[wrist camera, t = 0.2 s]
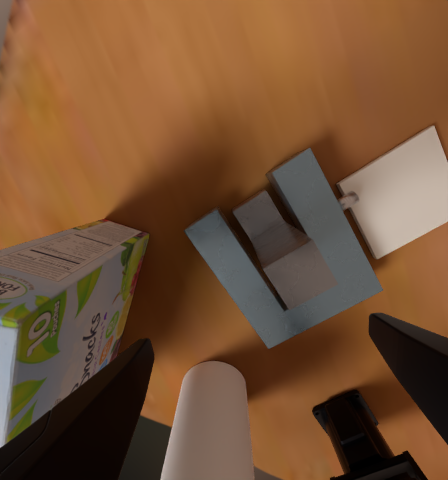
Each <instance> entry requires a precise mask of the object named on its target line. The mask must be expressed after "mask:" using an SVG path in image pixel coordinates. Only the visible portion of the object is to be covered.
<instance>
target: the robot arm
mask: <svg viewBox="0 0 448 480" xmlns="http://www.w3.org/2000/svg"><path fill="white" fill-rule="evenodd" d="M369 335H370V337H371V339H372V341H373V342H374V344H375V345H376V347H377V349H378V350H379V352H380V353H381V355H382V356H383V358H384V360H385V361H386V363H387V364H388V366H389V367H390V369H391V371H392V372H393V374H394V375H395V377H396V378H397V379H398V381H399V382H400V383H401V385H402V386H403V387H404V389H405V390H406V391H407V392H408V394H409V395H410V396H411V398H412V399H413V400H414V402H415V403H416V404H417V405H418V407H419V408H420V409H421V411H422V412H423V413H424V415H425V416H426V417H427V419H428V420H429V421H430V422H431V424H432V425H433V426H434V428H435V429H436V430H437V432H438V433H439V434H440V436H441V437H442V438H443V439H444V441H445V442H446V443H447V445H448V338H446V337H444V336H441V335H438V334H436V333H433V332H431V331H428V330H425V329H423V328H420V327H418V326H415V325H412V324H410V323H407V322H405V321H402V320H399V319H397V318H394V317H392V316H389V315H386V314H384V313H373V314H370V316H369ZM153 363H154V351H153V348H152V344H151V341H150V339H149V338H145V339H139V340H138V341H136V342H135V343H134V344H133V345H131V346H130V347H129V348H127V349H126V350H125V351H124V352H122V353H121V354H120V355H119V356H117V357H116V358H115V359H114V360H112V361H111V362H110V363H108V364H107V365H106V366H105V367H103V368H102V369H101V370H100V371H98V372H97V373H96V374H95V375H93V376H92V377H91V378H90V379H88V380H87V381H86V382H84V383H83V384H82V385H81V386H79V387H78V388H77V389H76V390H74V391H73V392H72V393H71V394H69V395H68V396H67V397H65V398H64V399H63V400H62V401H60V402H59V403H58V404H57V405H55V406H54V407H53V408H52V410H49V411H48V412H46V413H45V414H44V415H43V416H41V417H40V418H39V419H38V420H36V421H35V422H34V423H32V424H31V425H30V426H29V427H27V428H26V429H25V430H23V431H22V432H21V433H19V434H18V435H17V436H16V437H14V438H13V439H11V440H10V441H9V442H7V443H6V444H5V445H3V446H2V447H1V448H0V480H118V478H119V475H120V473H121V470H122V467H123V464H124V461H125V458H126V455H127V451H128V449H129V446H130V443H131V440H132V437H133V434H134V431H135V427H136V425H137V422H138V419H139V416H140V413H141V410H142V407H143V404H144V401H145V397H146V393H147V389H148V384H149V380H150V376H151V372H152V367H153ZM312 412H313V415H314V416H315V418H316V419H317V421H318V422H319V423H320V425H321V426H322V427H323V429H324V430H325V432H326V433H327V434H328V436H329V437H330V439H331V442H332V444H333V447H334V449H335V452H336V454H337V457H338V459H339V462H340V464H341V467H342V469H343V472H344V475H341V476H338V477H331V478H330V480H428V479H427V478H426V476H425V475H424V473H423V472H422V471H421V469H420V468H419V466H418V465H417V463H416V462H415V461H414V459H413V458H412V456H411V455H410V454H409V452H408V451H404V452H402V453H403V454H400V455H397V456H394V454H393V452H392V451H391V449H390V448H389V446H388V444H387V443H386V441H385V439H384V438H383V436H382V434H381V433H380V431H379V430H378V428H377V425H378V422H377V420H376V418H375V417H374V415H373V414H372V412H371V410H370V409H369V407H368V406H367V404H366V402H365V401H364V399H363V398H362V396H361V395H360V393H359V391H357V390H354V391H352V392H349V393H347V394H345V395H343V396H340V397H338V398H336V399H334V400H331V401H329V402H327V403H325V404H322V405H320V406H318V407H316V408H314V409H313V410H312Z"/></svg>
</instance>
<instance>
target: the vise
mask: <svg viewBox="0 0 448 480" xmlns="http://www.w3.org/2000/svg"><path fill="white" fill-rule="evenodd" d="M266 176H267V178H268V179H269V181H270V183H271V185H272V186H273V188H274V190H275V192H276V193H277V195H278V197H279V198H280V200H281V202H282V204H283V205H284V207H285V209H286V210H287V212H288V214H289V216H290V217H291V219H292V221H293V223H294V224H295V226H296V228H297V229H298V230H299V231H301V232H302V233H304V234H305V235H307V236H308V237H310V238H311V239H313V241H314V242H315V244H316V246H317V248H318V249H319V251H320V253H321V255H322V256H323V258H324V260H325V262H326V263H327V265H328V267H329V269H330V270H331V272H332V274H333V276H334V277H335V279H336V281H337V283H338V285H336V286H334V287H332V288H330V289H329V290H327V291H325V292H323V293H321V294H319V295H317V296H316V297H314V298H312V299H310V300H308V301H306V302H304V303H303V304H301V305H299V306H297V307H295V308H293V309H291V310H289V309H288V307H287V306H286V304H285V303H284V301H283V299H282V298H281V296H280V295H278V296H277V295H276V293H275V292H274V290H273V289H272V287H271V286H270V284H269V283H268V281H267V280H266V278H265V277H264V275H263V274H262V272H261V271H260V269H259V268H258V266H257V264H256V263H255V261H254V260H253V258H252V257H251V255H250V254H249V252H248V251H247V249H246V248H245V246H244V245H243V243H242V242H241V240H240V239H239V237H238V236H237V234H236V233H235V231H234V229H233V228H232V226H231V225H230V223H229V222H228V220H227V219H226V217H225V216H224V214H223V213H222V211H221V210H220V208H219V207H218V206H217V207H215V208H214V209H212V210H211V211H209V212H208V213H206V214H205V215H203V216H202V217H200V218H199V219H197V220H196V221H194V222H193V223H191V224H190V225H189V226H188V227H187V228H186V229H185V230H184V232H185V233H186V235H187V236H188V237H189V239H190V240H191V242H192V243H193V244H194V246H195V247H196V249H197V250H198V251H199V253H200V254H201V256H202V257H203V258H204V260H205V261H206V263H207V264H208V265H209V267H210V268H211V270H212V271H213V272H214V274H215V275H216V276H217V278H218V279H219V281H220V282H221V283H222V285H223V286H224V288H225V289H226V290H227V292H228V293H229V295H230V296H231V297H232V299H233V300H234V302H235V303H236V304H237V306H238V307H239V308H240V310H241V311H242V313H243V314H244V315H245V317H246V318H247V320H248V321H249V322H250V324H251V325H252V327H253V328H254V329H255V331H256V332H257V334H258V335H259V336H260V338H261V339H262V341H263V342H264V343H265V345H266V346H267V347H268V349H270V348H272V347H274V346H276V345H278V344H280V343H281V342H283V341H285V340H287V339H289V338H291V337H293V336H295V335H297V334H299V333H301V332H303V331H305V330H307V329H309V328H311V327H313V326H315V325H317V324H319V323H320V322H322V321H324V320H326V319H328V318H330V317H332V316H334V315H336V314H338V313H340V312H342V311H344V310H346V309H348V308H350V307H352V306H354V305H356V304H358V303H359V302H361V301H363V300H365V299H367V298H369V297H371V296H373V295H375V294H377V293H379V292H381V291H383V289H382V287H381V285H380V283H379V281H378V279H377V277H376V275H375V273H374V271H373V269H372V267H371V265H370V263H369V261H368V260H367V258H366V256H365V254H364V252H363V250H362V248H361V246H360V244H359V242H358V240H357V238H356V236H355V234H354V232H353V230H352V228H351V226H350V224H349V223H348V221H347V219H346V217H345V215H344V213H343V211H344V210H346V209H348V208H349V207H351V206H353V205H354V204H356V203H358V202H359V197H358V195H357V194H356V193H355V192H354V191H350V192H349V193H347V194H345V195H344V196H342V197H340V198H339V199H336V197H335V195H334V193H333V191H332V189H331V187H330V186H329V184H328V182H327V180H326V178H325V176H324V174H323V172H322V170H321V168H320V166H319V164H318V162H317V160H316V158H315V156H314V154H313V152H312V151H311V149H310V148H308V149H306V150H303V151H301V152H299V153H297V154H295V155H294V156H292V157H291V158H289V159H288V160H286V161H285V162H283V163H282V164H280V165H279V166H277V167H276V168H274V169H273V170H271V171H270V172H268V173H267V174H266Z"/></svg>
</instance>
